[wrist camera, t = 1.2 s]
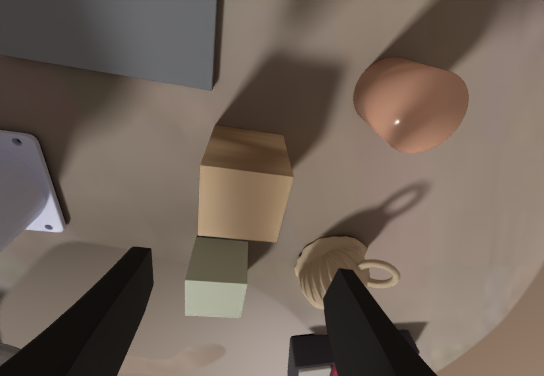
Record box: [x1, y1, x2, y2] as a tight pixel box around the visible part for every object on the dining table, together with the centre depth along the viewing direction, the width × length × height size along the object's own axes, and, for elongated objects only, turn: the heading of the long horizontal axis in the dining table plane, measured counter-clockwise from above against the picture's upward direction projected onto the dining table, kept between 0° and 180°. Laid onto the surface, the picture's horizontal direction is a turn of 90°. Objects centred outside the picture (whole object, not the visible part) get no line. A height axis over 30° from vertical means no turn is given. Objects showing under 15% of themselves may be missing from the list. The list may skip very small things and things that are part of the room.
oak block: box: [198, 125, 294, 242], centre depth 16 cm, size 4×4×6 cm
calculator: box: [288, 330, 419, 376], centre depth 34 cm, size 11×4×15 cm
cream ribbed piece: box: [294, 236, 400, 309], centre depth 22 cm, size 4×8×5 cm, turn 123°
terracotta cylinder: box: [353, 57, 469, 153], centre depth 14 cm, size 4×4×4 cm
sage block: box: [185, 237, 248, 318], centre depth 22 cm, size 4×4×4 cm
